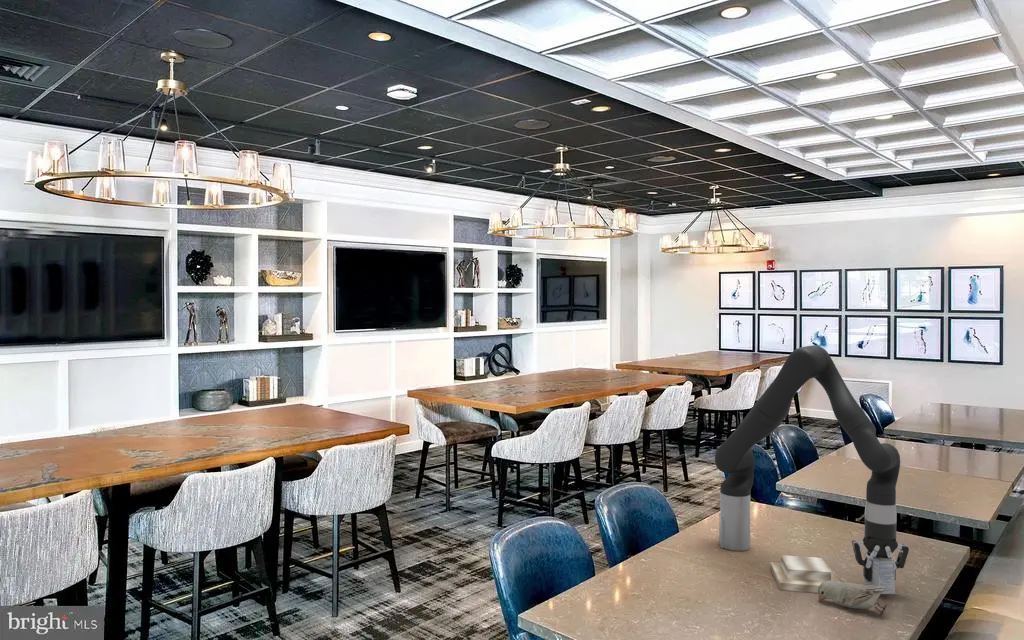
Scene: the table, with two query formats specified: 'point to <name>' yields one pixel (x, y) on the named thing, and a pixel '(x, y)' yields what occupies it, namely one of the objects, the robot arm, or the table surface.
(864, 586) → the decorative bird
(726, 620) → the table surface
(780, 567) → the pedestal
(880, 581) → the medicine box
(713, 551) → the table surface
